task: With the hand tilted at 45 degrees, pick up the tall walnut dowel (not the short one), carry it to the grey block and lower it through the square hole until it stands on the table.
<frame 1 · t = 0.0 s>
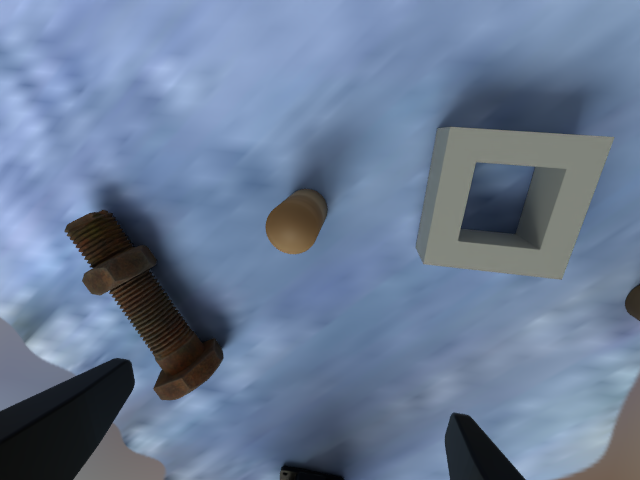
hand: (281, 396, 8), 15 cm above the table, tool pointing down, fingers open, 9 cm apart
hole block: (488, 197, 20), on the table
bolt: (165, 286, 26), on the table
short dowel: (306, 209, 22), on the table
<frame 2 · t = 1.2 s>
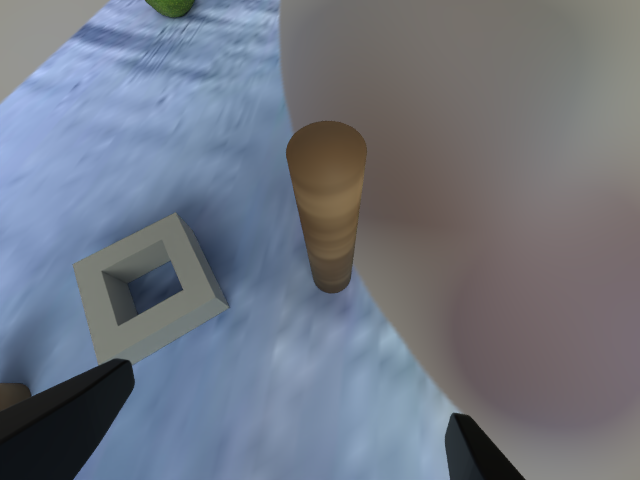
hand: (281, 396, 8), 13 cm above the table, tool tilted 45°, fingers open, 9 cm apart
long dowel: (331, 274, 24), on the table
hole block: (163, 292, 24), on the table
avocado: (181, 14, 41), on the table
short dowel: (8, 407, 21), on the table
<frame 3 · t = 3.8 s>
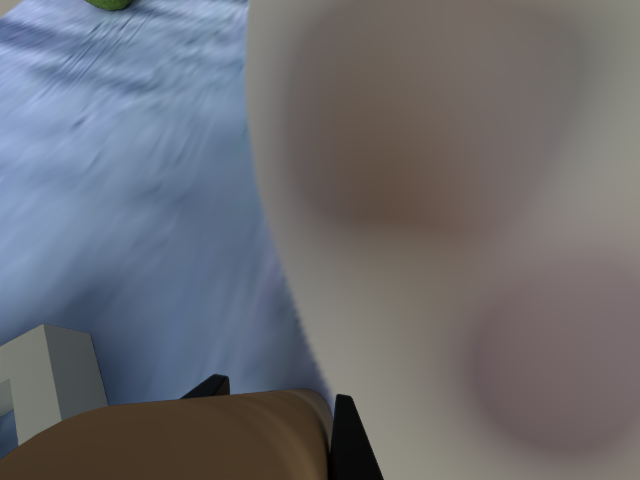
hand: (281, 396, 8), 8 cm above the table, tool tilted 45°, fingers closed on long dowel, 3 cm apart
long dowel: (301, 423, 15), on the table, touching gripper
hole block: (26, 451, 15), on the table
avocado: (123, 6, 32), on the table
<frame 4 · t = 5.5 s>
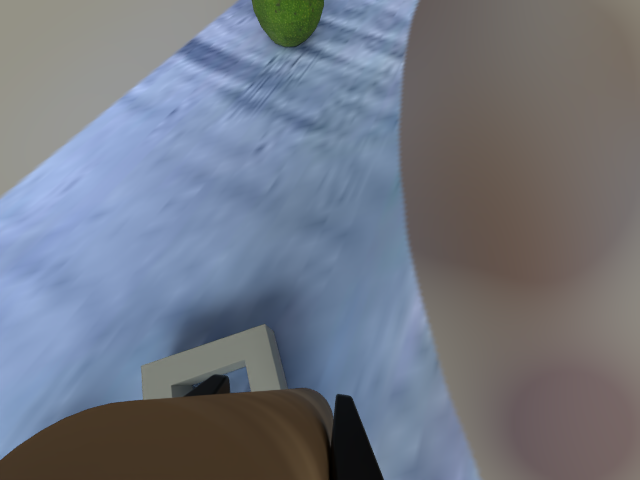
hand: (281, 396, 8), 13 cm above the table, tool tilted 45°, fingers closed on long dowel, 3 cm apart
long dowel: (302, 422, 15), point 6 cm above the table, touching gripper
hole block: (230, 409, 20), on the table
avocado: (293, 43, 37), on the table
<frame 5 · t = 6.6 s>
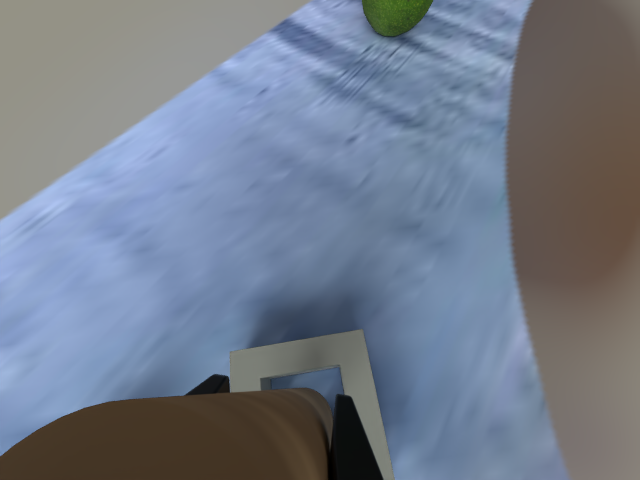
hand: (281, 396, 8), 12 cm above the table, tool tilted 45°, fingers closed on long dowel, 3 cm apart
long dowel: (302, 422, 15), point 5 cm above the table, touching gripper
hole block: (309, 412, 19), on the table
avocado: (391, 33, 35), on the table
when the fingers open (8 cm above the table, at t = 7.7 s): long dowel stays where it is, resting in hole block.
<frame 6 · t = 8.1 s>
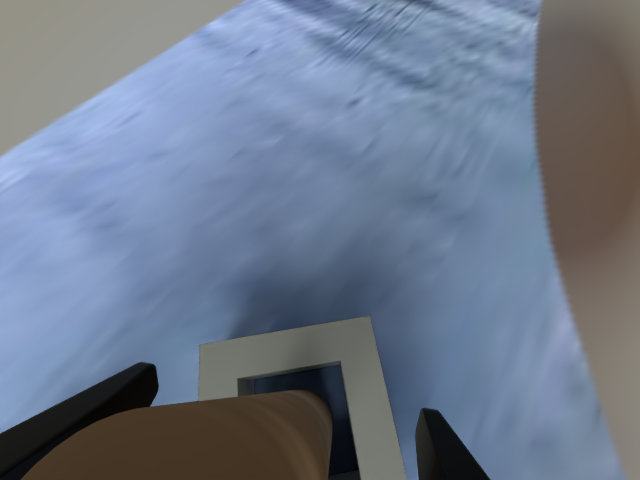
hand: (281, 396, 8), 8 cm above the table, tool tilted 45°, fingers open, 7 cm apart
long dowel: (303, 422, 15), resting in hole block
hole block: (302, 421, 15), on the table
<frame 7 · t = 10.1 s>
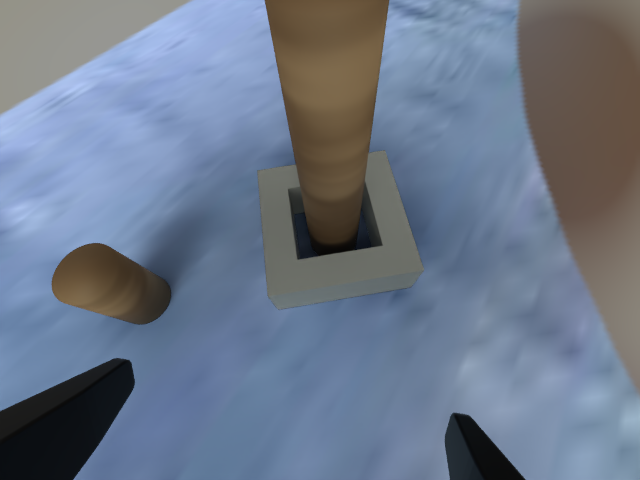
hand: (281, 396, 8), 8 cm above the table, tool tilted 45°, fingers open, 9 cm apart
long dowel: (333, 239, 20), resting in hole block
hole block: (333, 238, 20), on the table
short dowel: (146, 299, 18), on the table
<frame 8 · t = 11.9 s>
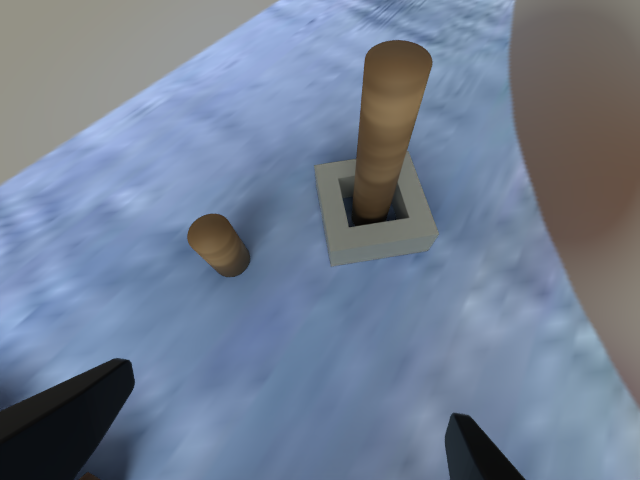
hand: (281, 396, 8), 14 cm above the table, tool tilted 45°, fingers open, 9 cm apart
long dowel: (368, 217, 26), resting in hole block
hole block: (368, 216, 26), on the table
short dowel: (232, 260, 25), on the table
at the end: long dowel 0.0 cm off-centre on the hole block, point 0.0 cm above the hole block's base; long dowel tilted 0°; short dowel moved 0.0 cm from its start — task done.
